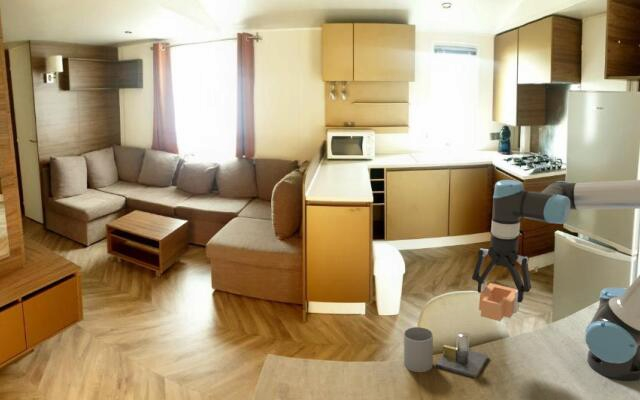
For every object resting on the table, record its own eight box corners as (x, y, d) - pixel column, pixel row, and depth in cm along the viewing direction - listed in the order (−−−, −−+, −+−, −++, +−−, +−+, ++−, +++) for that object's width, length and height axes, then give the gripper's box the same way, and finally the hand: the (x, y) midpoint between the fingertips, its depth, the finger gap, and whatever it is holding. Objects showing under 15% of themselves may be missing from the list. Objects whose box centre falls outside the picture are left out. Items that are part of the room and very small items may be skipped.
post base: (488, 357, 161) (489, 330, 159) (476, 378, 152) (477, 349, 149) (449, 348, 168) (450, 322, 165) (435, 366, 158) (435, 339, 156)
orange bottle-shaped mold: (488, 298, 164) (489, 283, 162) (519, 305, 159) (520, 290, 157) (474, 314, 154) (475, 298, 153) (506, 323, 149) (508, 306, 148)
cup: (431, 357, 163) (431, 327, 161) (434, 372, 155) (434, 341, 153) (403, 356, 164) (403, 327, 162) (404, 371, 156) (404, 341, 154)
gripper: (548, 237, 148) (540, 311, 155) (471, 224, 161) (467, 293, 167) (541, 245, 143) (534, 322, 149) (462, 231, 155) (458, 302, 161)
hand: (499, 306), depth 158 cm, fingers closed on orange bottle-shaped mold, 9 cm apart
